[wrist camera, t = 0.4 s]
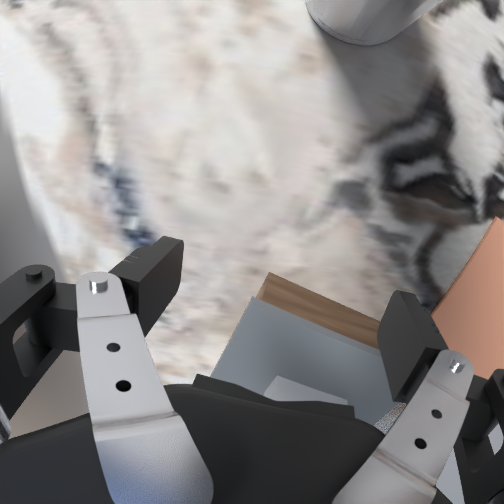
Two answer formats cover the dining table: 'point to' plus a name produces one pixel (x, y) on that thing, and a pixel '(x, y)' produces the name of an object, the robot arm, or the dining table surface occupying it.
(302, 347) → the lid
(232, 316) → the dining table surface
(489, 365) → the mat
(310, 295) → the box
